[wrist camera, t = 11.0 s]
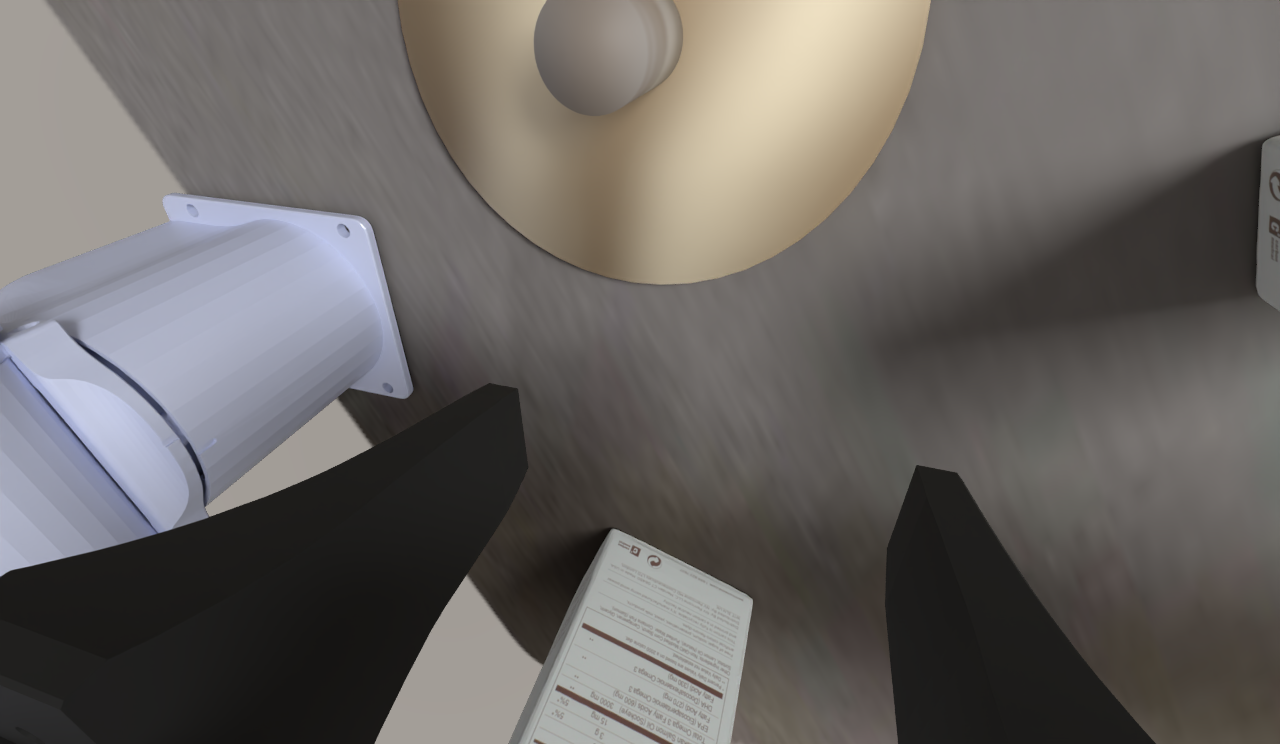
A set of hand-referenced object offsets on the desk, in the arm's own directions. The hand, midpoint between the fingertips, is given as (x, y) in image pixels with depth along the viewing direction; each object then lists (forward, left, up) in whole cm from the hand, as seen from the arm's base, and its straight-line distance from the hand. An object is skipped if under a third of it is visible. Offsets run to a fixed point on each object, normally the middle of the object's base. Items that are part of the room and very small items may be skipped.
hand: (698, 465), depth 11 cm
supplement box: (-3, -18, -10) cm, 21 cm away
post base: (-4, +6, -9) cm, 12 cm away
